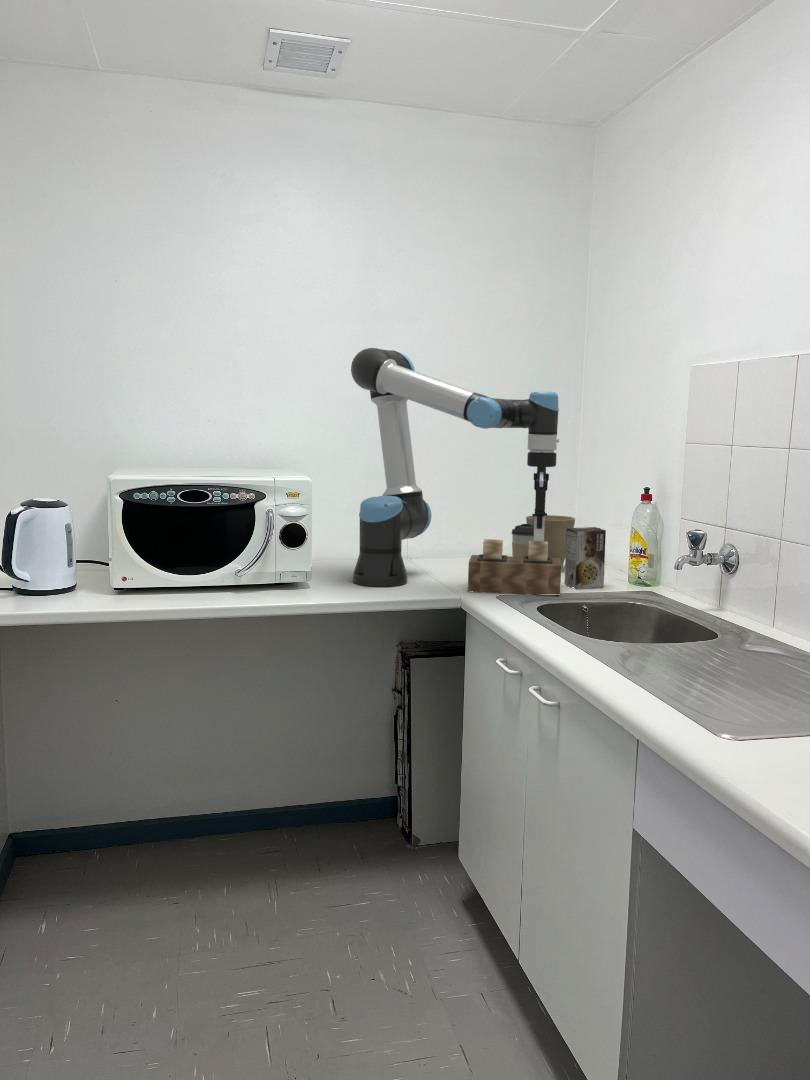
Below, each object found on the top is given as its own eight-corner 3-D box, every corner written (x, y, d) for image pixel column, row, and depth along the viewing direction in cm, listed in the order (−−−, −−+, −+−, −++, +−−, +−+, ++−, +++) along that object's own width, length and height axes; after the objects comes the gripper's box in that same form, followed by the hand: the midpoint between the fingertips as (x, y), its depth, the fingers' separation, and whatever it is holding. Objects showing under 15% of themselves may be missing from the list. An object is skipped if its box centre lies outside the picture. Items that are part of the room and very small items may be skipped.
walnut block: (467, 591, 218) (468, 559, 217) (470, 583, 230) (471, 552, 229) (559, 596, 215) (561, 563, 213) (558, 587, 226) (559, 556, 225)
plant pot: (578, 567, 259) (580, 516, 256) (566, 574, 245) (568, 521, 243) (532, 562, 265) (533, 513, 263) (517, 570, 252) (519, 518, 249)
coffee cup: (543, 579, 238) (545, 527, 236) (511, 578, 238) (513, 526, 236) (538, 573, 247) (540, 523, 245) (508, 572, 247) (510, 522, 245)
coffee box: (592, 583, 233) (594, 526, 230) (604, 587, 227) (607, 529, 224) (563, 584, 230) (565, 527, 228) (574, 589, 224) (577, 530, 222)
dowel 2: (527, 567, 218) (528, 543, 217) (527, 564, 223) (528, 540, 222) (547, 568, 218) (548, 544, 217) (546, 565, 223) (547, 541, 222)
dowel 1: (482, 565, 220) (483, 541, 219) (483, 562, 225) (484, 539, 224) (501, 566, 219) (502, 542, 218) (501, 563, 224) (502, 539, 223)
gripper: (557, 452, 209) (553, 544, 212) (555, 450, 222) (552, 537, 225) (527, 452, 210) (524, 543, 214) (527, 450, 223) (524, 536, 226)
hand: (538, 540), depth 219 cm, fingers closed
